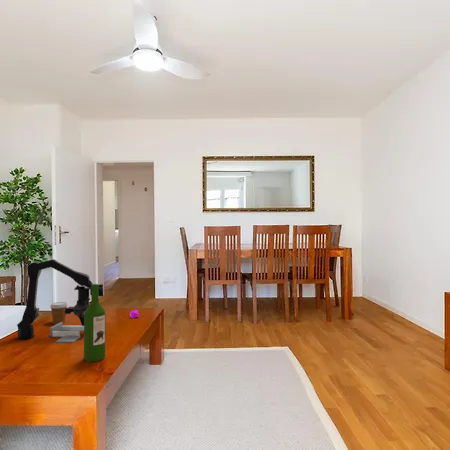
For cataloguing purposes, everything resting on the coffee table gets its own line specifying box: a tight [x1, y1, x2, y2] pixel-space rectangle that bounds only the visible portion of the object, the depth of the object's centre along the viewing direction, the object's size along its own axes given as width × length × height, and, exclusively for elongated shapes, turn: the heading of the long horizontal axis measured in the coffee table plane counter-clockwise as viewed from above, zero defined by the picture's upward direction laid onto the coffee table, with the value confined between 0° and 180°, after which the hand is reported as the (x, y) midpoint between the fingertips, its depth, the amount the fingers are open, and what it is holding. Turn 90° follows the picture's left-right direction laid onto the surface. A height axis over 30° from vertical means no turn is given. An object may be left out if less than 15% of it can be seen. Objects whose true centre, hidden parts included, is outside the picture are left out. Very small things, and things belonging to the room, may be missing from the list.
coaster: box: [55, 335, 82, 344], centre depth 177 cm, size 9×9×1 cm
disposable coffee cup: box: [50, 301, 68, 326], centre depth 208 cm, size 10×10×12 cm
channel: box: [49, 322, 84, 338], centre depth 188 cm, size 15×11×4 cm
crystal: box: [129, 309, 140, 319], centre depth 221 cm, size 5×5×5 cm
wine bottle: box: [83, 283, 106, 362], centre depth 152 cm, size 9×9×32 cm
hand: (83, 325), depth 188 cm, fingers closed
